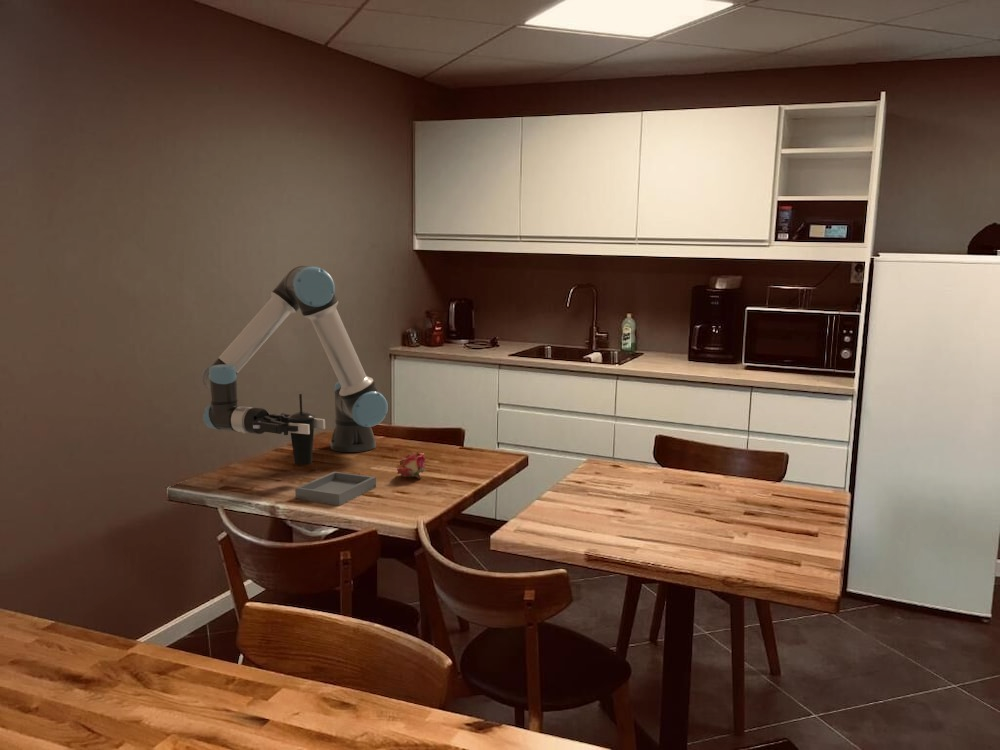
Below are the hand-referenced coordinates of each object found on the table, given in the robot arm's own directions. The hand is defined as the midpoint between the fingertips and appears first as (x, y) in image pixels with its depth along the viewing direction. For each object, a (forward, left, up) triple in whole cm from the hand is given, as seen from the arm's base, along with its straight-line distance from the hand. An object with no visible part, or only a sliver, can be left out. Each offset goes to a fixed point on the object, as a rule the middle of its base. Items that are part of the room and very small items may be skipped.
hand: (316, 426), depth 224 cm
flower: (-18, +20, -17) cm, 32 cm away
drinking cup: (0, -5, -11) cm, 12 cm away
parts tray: (+4, +9, -17) cm, 20 cm away
